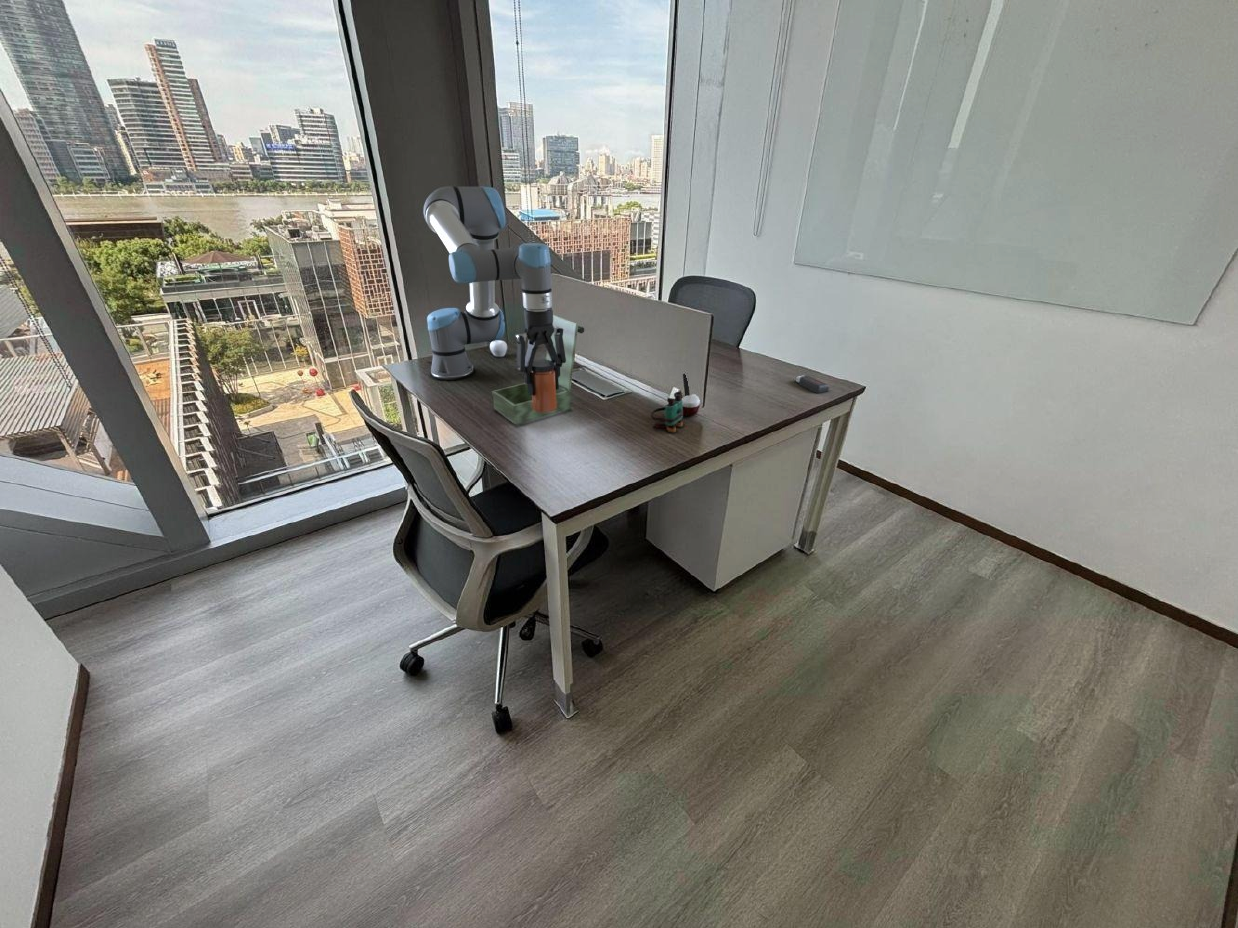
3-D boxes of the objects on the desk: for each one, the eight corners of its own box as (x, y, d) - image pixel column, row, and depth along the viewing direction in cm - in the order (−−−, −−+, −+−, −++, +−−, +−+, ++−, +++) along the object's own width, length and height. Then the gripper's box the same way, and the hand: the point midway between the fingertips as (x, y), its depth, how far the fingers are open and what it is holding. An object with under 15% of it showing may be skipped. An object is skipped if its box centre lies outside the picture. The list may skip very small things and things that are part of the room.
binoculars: (658, 387, 150) (688, 391, 145) (659, 419, 155) (688, 424, 150) (644, 396, 144) (674, 401, 139) (645, 429, 149) (675, 435, 144)
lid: (576, 323, 146) (591, 324, 149) (550, 314, 155) (565, 314, 159) (568, 389, 154) (583, 388, 158) (544, 376, 164) (559, 376, 167)
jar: (528, 406, 142) (524, 362, 135) (548, 400, 146) (546, 357, 139) (540, 414, 137) (537, 369, 130) (561, 408, 141) (559, 364, 134)
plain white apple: (493, 352, 208) (491, 334, 204) (510, 353, 208) (508, 334, 203) (488, 357, 202) (486, 338, 198) (505, 358, 202) (503, 339, 197)
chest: (516, 426, 147) (514, 406, 144) (494, 410, 157) (492, 390, 154) (570, 410, 158) (569, 391, 154) (546, 396, 168) (545, 377, 164)
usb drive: (817, 393, 174) (819, 386, 173) (793, 382, 184) (795, 375, 182) (828, 391, 176) (830, 383, 175) (804, 380, 186) (805, 373, 184)
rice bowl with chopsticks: (698, 420, 153) (702, 384, 147) (678, 419, 154) (681, 383, 147) (698, 408, 161) (701, 373, 155) (679, 407, 162) (682, 372, 156)
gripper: (510, 316, 119) (518, 403, 131) (577, 306, 130) (580, 387, 142) (496, 310, 124) (505, 394, 136) (562, 301, 135) (565, 379, 147)
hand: (543, 390), depth 139 cm, fingers closed on jar, 7 cm apart
